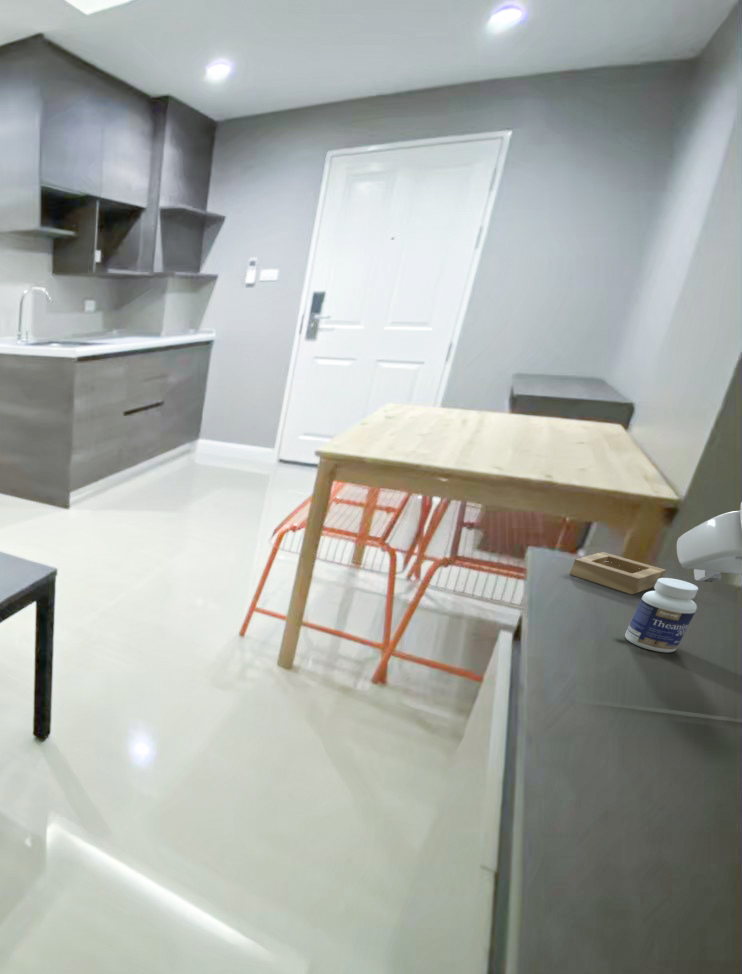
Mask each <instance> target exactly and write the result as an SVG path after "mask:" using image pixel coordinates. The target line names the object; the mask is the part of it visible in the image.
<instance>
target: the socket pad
mask: <svg viewBox="0 0 742 974" xmlns="http://www.w3.org/2000/svg"><path fill="white" fill-rule="evenodd" d="M604 561H609V562H604ZM611 562H612V563H611ZM619 565H620V566H619ZM639 568H640V569H639ZM642 569H643V570H642ZM644 569H646V570H644ZM666 573H667V569H664V568H661V567H657V566H654V565H651V564H647V563H643V562H640V561H637V560H634V559H630V558H625V557H622V556H619V555H615V554H612V553H609V552H605V551H601V552H597V553H594V554H589V555H586V556H581V557H579V558H575V559H574V560H573V564H572V567H571V569H570V572H569V575H570V576H572V577H573V576H574V577H576V578H580V579H583V580H586V581H589V582H592V583H595V584H598V585H602V586H604V587H607V588H610V589H614V590H617V591H619V592H622V593H626V594H629V595H634V594H639V593H640V592H644V591H647V590H650V589H654V586H653V585H655V584H656V582H657V580H658V579H659V578H665V574H666ZM650 586H652V587H650Z"/></svg>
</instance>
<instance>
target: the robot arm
mask: <svg viewBox="0 0 742 974" xmlns="http://www.w3.org/2000/svg"><path fill="white" fill-rule="evenodd" d="M739 509H740V510H733V511H729V512H725V513H721V514H719V515H717V516H713V517H711V518H710V519H708V520H706V521H704V522H702V523H700V524H698V525H696V526H695V527H693V528H691V529H690V530H688V531H686V532H685V533H683V534H682V535H680V536H679V537H678V538H677V540H676V555H677V559H678V562H679V564H680V566H682V568H685V569H689V570H693V577H694V580H695V581H696V582H697V581H699V582H704V583H705V582H706V583H715V581H719V580H721V579H723V576H722V574H723V573H725V574H732V575H733V574H734V575H741V576H742V501H741V502H740V505H739Z"/></svg>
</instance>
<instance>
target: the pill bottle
mask: <svg viewBox="0 0 742 974" xmlns="http://www.w3.org/2000/svg"><path fill="white" fill-rule="evenodd" d="M653 589H654V590H649V591H647V592H644V594H643V595H642V597H641V599H640V600H639V603H638V605H637V607H636V609H635V612H634V614H633V616H632V618H631V620H630V622H629V624H628V627H627V629H626V632H625V634H624V637H625V639H626V640H627V641H628V642H630V643H631V644H633V645H635V646H636V647H639V648H642V649H645V650H649V651H654V652H657V653H658V652H659V653H673V652H675V651H676V650H677V649H678V648H679V645H680V643H681V641H682V639H683V637H684V636H685V634H686V631H687V630H688V628H689V626H690V624H691V621H692V620H693V618H694V616H695V614H696V612H697V610H698V606H697V603H696V602H694V600H693V599H695V597H696V595H697V594H698V591H699V587H698V586H697V585H696V584H693V583H691V582H688V581H685V580H681V579H678V578H670V577H663V578H659V579H658V580H657V582H656V584H655V586H654V587H653Z"/></svg>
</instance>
